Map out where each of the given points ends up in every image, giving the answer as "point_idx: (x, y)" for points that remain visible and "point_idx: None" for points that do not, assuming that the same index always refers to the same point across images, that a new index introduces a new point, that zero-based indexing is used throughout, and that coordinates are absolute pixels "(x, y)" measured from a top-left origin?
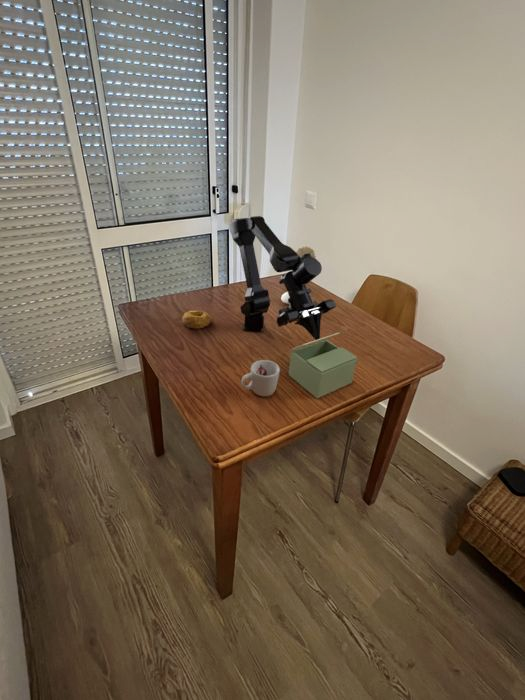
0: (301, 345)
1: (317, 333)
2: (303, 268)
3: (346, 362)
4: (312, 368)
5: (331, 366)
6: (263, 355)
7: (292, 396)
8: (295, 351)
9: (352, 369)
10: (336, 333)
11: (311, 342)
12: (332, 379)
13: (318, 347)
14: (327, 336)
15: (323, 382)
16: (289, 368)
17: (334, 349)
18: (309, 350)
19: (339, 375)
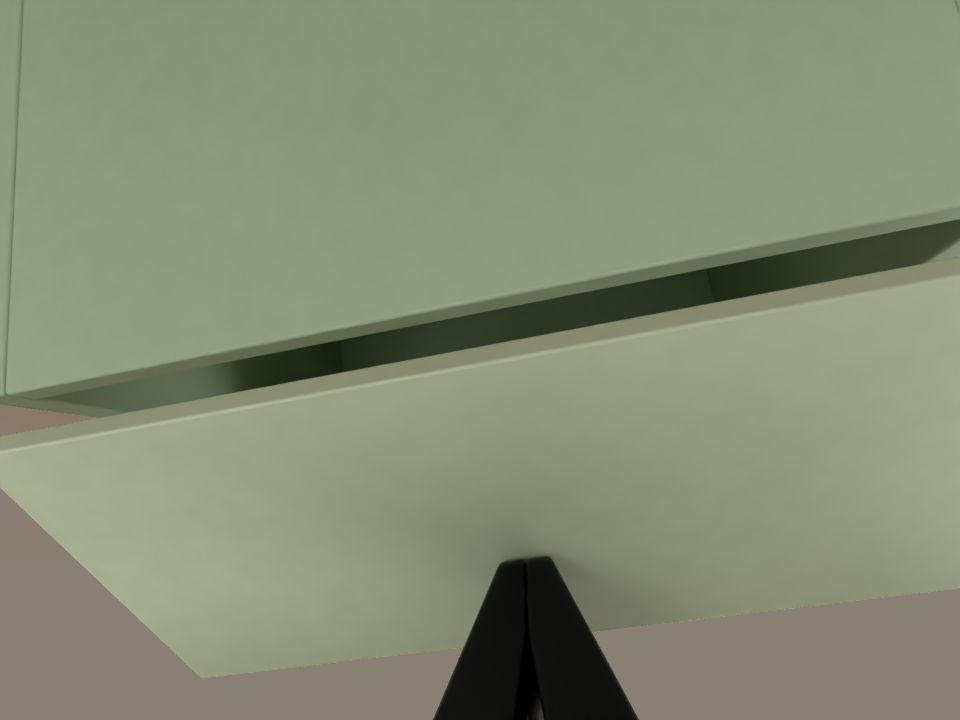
0: (175, 643)
1: (539, 709)
2: None
3: (735, 277)
4: None
5: None
6: None
7: None
8: (84, 377)
9: (692, 298)
10: (877, 591)
11: (336, 650)
12: (462, 327)
13: (722, 140)
14: (659, 619)
15: (371, 352)
16: (3, 46)
17: (833, 253)
18: (448, 205)
19: (537, 324)
